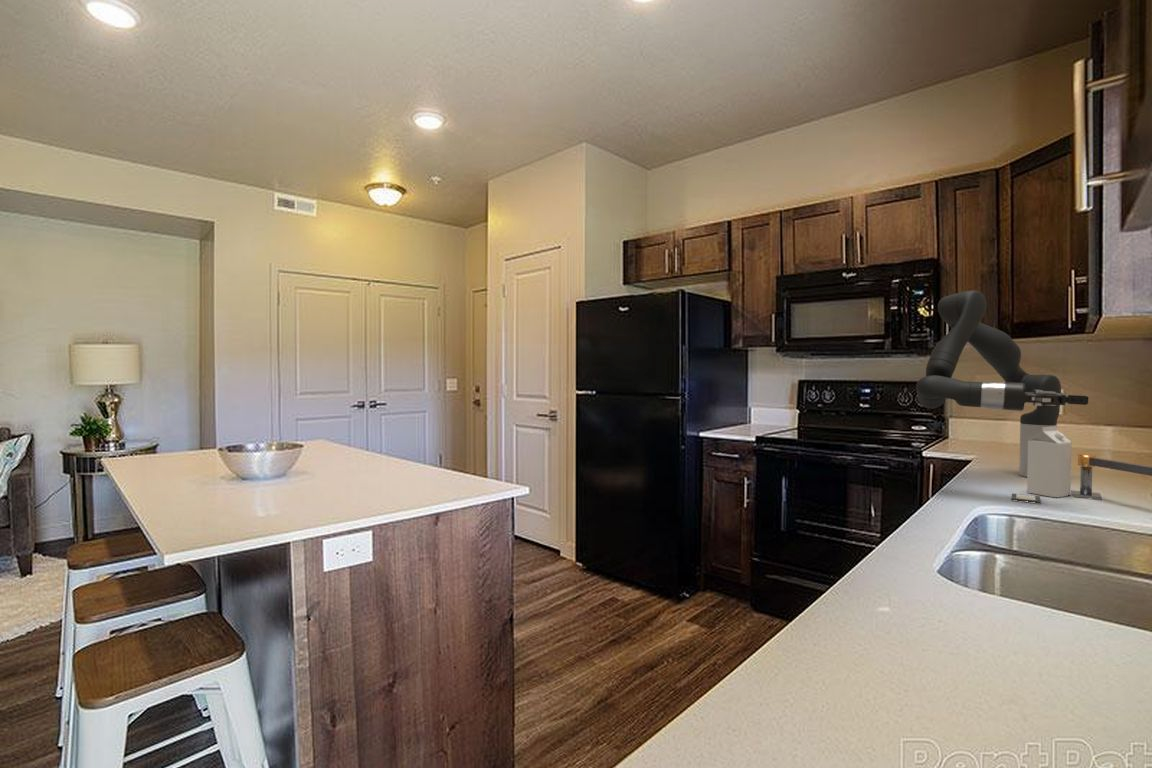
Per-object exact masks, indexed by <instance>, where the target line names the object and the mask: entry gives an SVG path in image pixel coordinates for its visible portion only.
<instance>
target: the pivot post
mask: <svg viewBox="0 0 1152 768" xmlns="http://www.w3.org/2000/svg"><path fill="white" fill-rule="evenodd" d="M1079 478H1080V480H1079V482H1080V483H1079V484H1080V485H1079V486H1080V487H1079V490H1072V489H1070V496H1071V497H1072V496H1075V497H1074V498H1078V497H1084V498H1083V499H1088V498H1092V499H1091V500H1097V499H1101V500H1100V501H1102V500H1103V497H1102V495H1101V493H1100V492H1093V489H1092V488H1093V467H1090V466H1080V477H1079Z"/></svg>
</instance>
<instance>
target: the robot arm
mask: <svg viewBox="0 0 1152 768" xmlns="http://www.w3.org/2000/svg"><path fill="white" fill-rule="evenodd" d="M986 311H987V299H986V297H985V295H984V294H983V293H982V292H981V291H979V290H976V289H975V290H974V289H973V290H972V289H971V290H965V291H962V292H958V293H957V292H956V293H952V294H950V295H947V296H944V297H941V299H939V301H938V303H937V312H938V313H939V316H940V318H941V319H942V320H943V321H944V322H945V324H947V325H948V326H949V327H950V328H951V329H950V331H949V332H947V334H945V336H944V337H942V339H940V340H939V341H938V343H937V344H936V345H935V346H934V347H933V350H932V352H931V354H930V356H929V359H928V360H927V364H926V367H925V376H923V377H921V378H920V379H919V380H918V381H917V383H916V386H915V387H916V395H917V396H916V397H917V400H918V402H919V405H920V406H922V407H924V408H926V409H932V410H933V409H937V408H939V407H941V406H942V405H943V404H944V403H945V401H946V400H947V399H949V400H953V401H955V403H956V404H957V405H959V406H961V407H971V408H982V409H983V408H984V409H990V410H1003V411H1016V412H1017V411H1019V412H1021V411H1024V409H1025V404H1026V403H1031V404H1032V405H1033V406H1035V407H1036V408H1035V409H1034V410H1032V411H1030V412H1027V413H1023V414H1021V415H1020V417H1019V418H1020V419H1019V421H1020V422H1019V465H1018V466H1019V467H1018V469H1019V470H1018V471H1019V472H1018V473H1019V476H1021V477H1025V478H1027V469H1028V440H1030V439H1031V438H1033V437H1034V436H1036V435H1037V434H1039V433H1041V432H1042V428H1043V427H1055V426H1057V427H1058V420H1059V419H1058V418H1059V417H1060V410H1061V407H1060V406H1067V405H1081V406H1082V405H1083V406H1084V405H1085V406H1086V405H1088V404H1089V397H1088V396H1087V395H1081V394H1080V395H1077V394H1075V395H1074V394H1067V393H1063V392H1062V385H1061V381H1060V380H1059V378H1058V377H1057V376H1055V375H1052V374H1030V373H1027V372H1025V371H1024V369H1023V368H1022V367H1021V366H1020V363H1021V359H1022V352H1021V348H1020V346H1019V345H1018V343H1016V342H1015V341H1014V340H1013V338H1012V337H1011V336H1010V335H1009V334H1007V333H1006V332H1004V331H1002V330H1000V329H997V328H995V327H992V326H990V325H987V324H984V323H982V322H981V321H982V320H983V318H984V315H985V314H986ZM967 343H969V344H970V345H971V346H972V347H973V348H974V349H975V350H976V351H977V353H978V354H979V355H980V356H981V357H982V358H983V359H984V360H985V362H987V363H988V364H989V365H990V366H991V368H993V369H994V370H995V371H996V372H997V373H998V375H999V376H1000V377H1001V378H1002V380H1003V381H983V382H982V381H964V380H960V379H956V378H953V377H952V376H953V375H954V373H955V370H956V367H957V365H958V362H959V359H960V357H961V355H962V352H963V350H964V349H965V346H966V345H967Z"/></svg>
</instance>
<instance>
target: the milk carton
mask: <svg viewBox="0 0 1152 768" xmlns="http://www.w3.org/2000/svg"><path fill="white" fill-rule="evenodd" d="M1071 473H1072V441H1071V440H1070V439H1069V438H1067V437H1066V435H1064V433H1062V432H1061V431H1059V430H1058V425H1057V426H1055V427H1043V428H1042V432H1041V433H1039V434H1037V435H1036V436H1034V437H1033V438H1031V439H1030V440H1028V469H1027V477H1026V478H1027V479H1026V484H1027V485H1026V493H1027V492H1028V493H1027V494H1032V495H1037V496H1044V497H1045V496H1046V497H1051V498H1056V497H1057V498H1061V497H1067V496H1068V495H1069V496H1071V484H1072V483H1071V481H1072V480H1071V479H1072V474H1071Z"/></svg>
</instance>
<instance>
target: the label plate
mask: <svg viewBox="0 0 1152 768" xmlns="http://www.w3.org/2000/svg"><path fill="white" fill-rule="evenodd" d="M1011 500H1017V501H1016V502H1018V501H1028V502H1035V503H1041V495H1033V494H1032V495H1031V494H1021V493H1013V492H1012V493H1011ZM1035 503H1034V504H1035Z"/></svg>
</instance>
